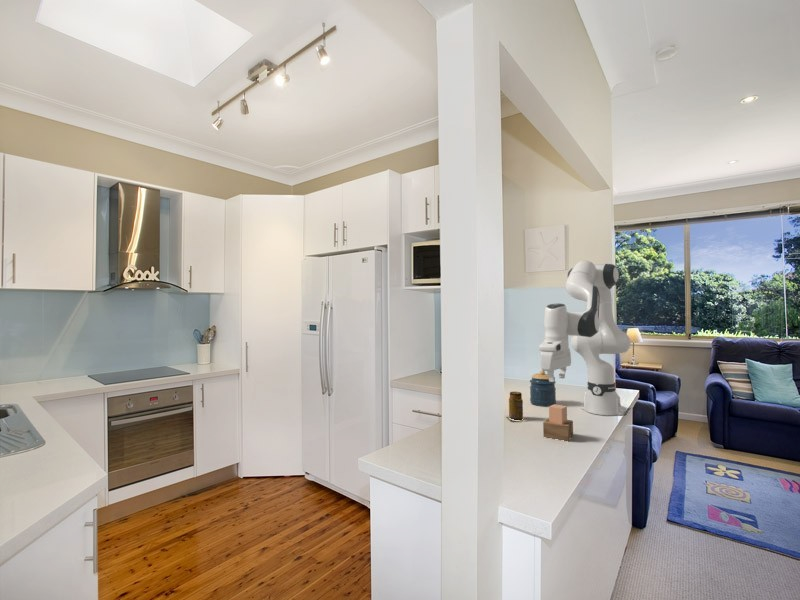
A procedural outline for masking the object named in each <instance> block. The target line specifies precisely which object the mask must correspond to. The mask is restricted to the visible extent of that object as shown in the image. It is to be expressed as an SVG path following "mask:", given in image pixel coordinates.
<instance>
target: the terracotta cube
mask: <svg viewBox="0 0 800 600" xmlns="http://www.w3.org/2000/svg"><path fill="white" fill-rule="evenodd" d="M548 418H549V422H552V423H557V424H564V423H566V422H567V420H568V406H567V405H562V404H561V405H560V404H557V403H556V404H554V405H551V406H548Z"/></svg>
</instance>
